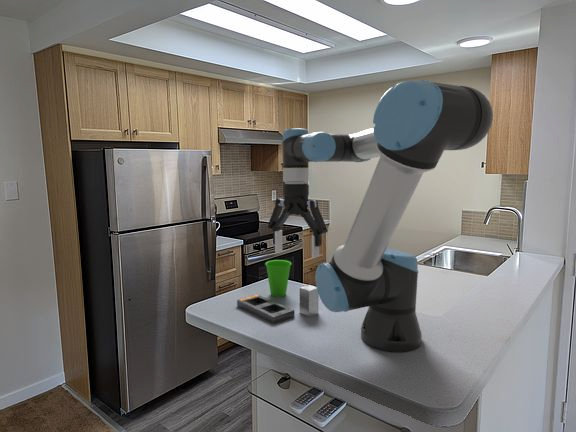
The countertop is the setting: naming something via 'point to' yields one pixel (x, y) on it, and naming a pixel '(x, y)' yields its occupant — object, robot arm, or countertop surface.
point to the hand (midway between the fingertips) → (296, 254)
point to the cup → (278, 276)
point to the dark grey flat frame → (265, 308)
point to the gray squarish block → (309, 300)
